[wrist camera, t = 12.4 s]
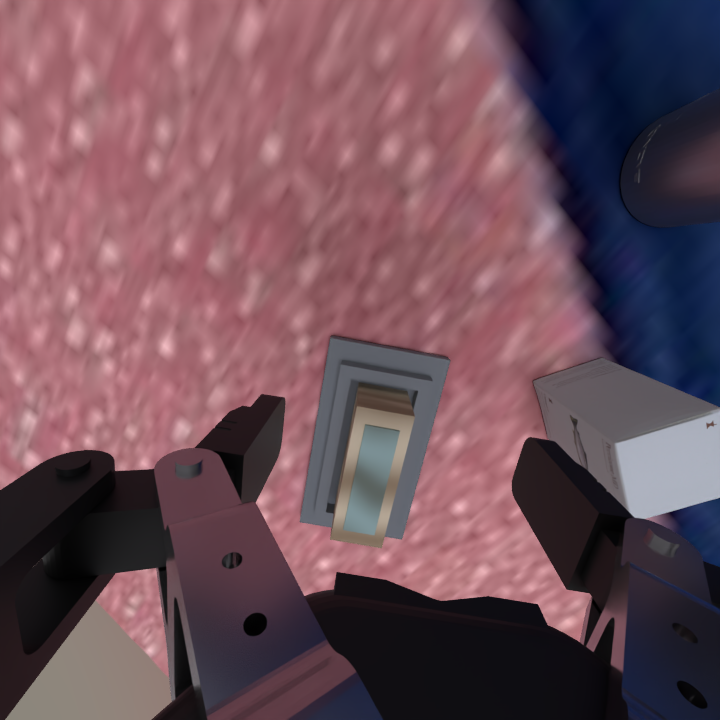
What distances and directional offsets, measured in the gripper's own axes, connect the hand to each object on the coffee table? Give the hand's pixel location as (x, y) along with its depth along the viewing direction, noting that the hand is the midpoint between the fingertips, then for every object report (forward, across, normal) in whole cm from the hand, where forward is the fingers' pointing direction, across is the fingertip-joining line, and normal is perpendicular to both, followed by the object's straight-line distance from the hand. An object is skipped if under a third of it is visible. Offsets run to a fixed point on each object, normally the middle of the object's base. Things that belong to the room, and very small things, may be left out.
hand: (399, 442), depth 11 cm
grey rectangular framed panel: (+24, -1, +14) cm, 27 cm away
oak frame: (+22, -1, +14) cm, 26 cm away
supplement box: (+24, -21, +5) cm, 33 cm away
